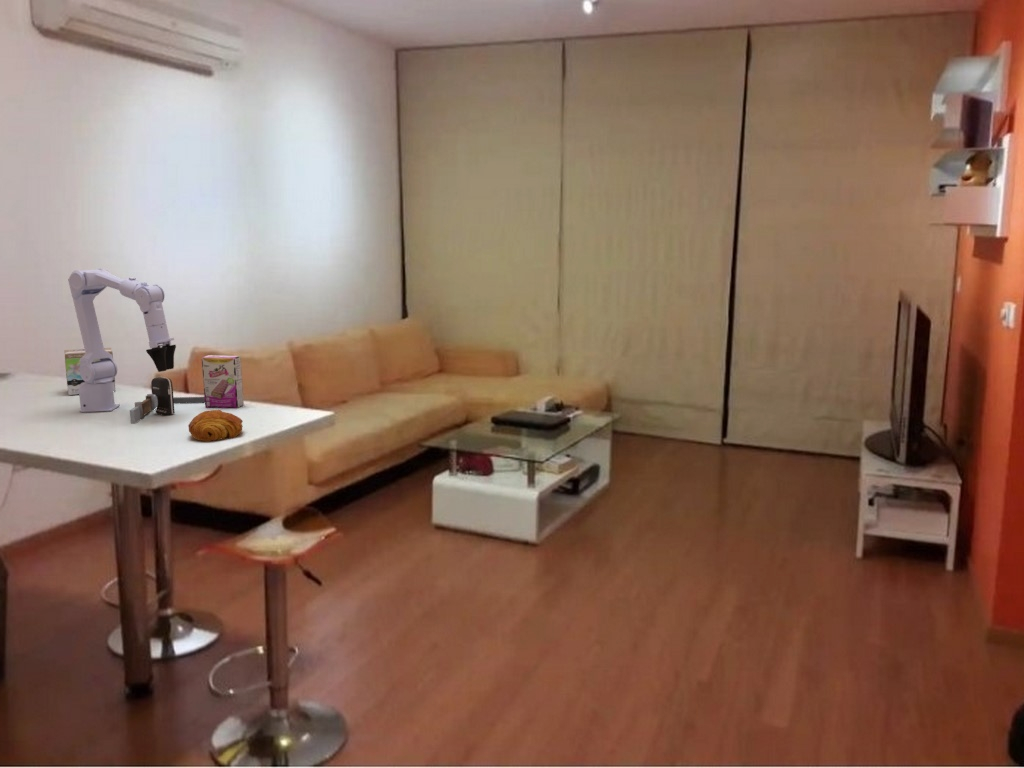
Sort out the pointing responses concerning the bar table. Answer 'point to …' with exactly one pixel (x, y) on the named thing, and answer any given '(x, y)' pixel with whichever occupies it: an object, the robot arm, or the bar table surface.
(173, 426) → the bar table surface
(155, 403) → the fence
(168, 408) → the battery charger
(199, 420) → the croissant
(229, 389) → the candy bar box
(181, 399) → the bar
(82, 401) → the robot arm
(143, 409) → the gate
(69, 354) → the tea box
